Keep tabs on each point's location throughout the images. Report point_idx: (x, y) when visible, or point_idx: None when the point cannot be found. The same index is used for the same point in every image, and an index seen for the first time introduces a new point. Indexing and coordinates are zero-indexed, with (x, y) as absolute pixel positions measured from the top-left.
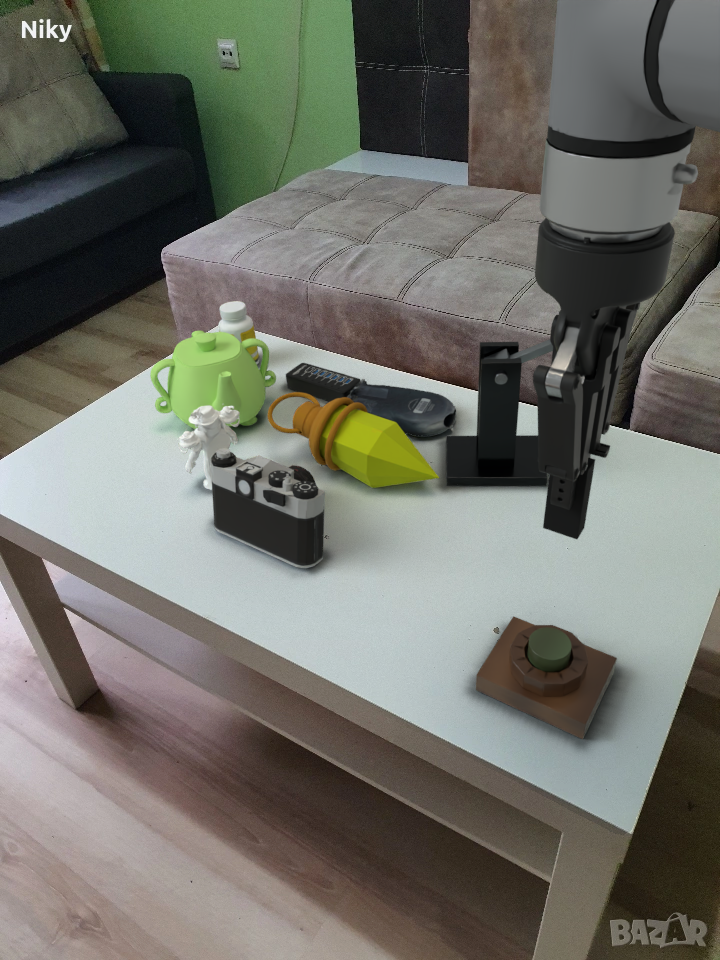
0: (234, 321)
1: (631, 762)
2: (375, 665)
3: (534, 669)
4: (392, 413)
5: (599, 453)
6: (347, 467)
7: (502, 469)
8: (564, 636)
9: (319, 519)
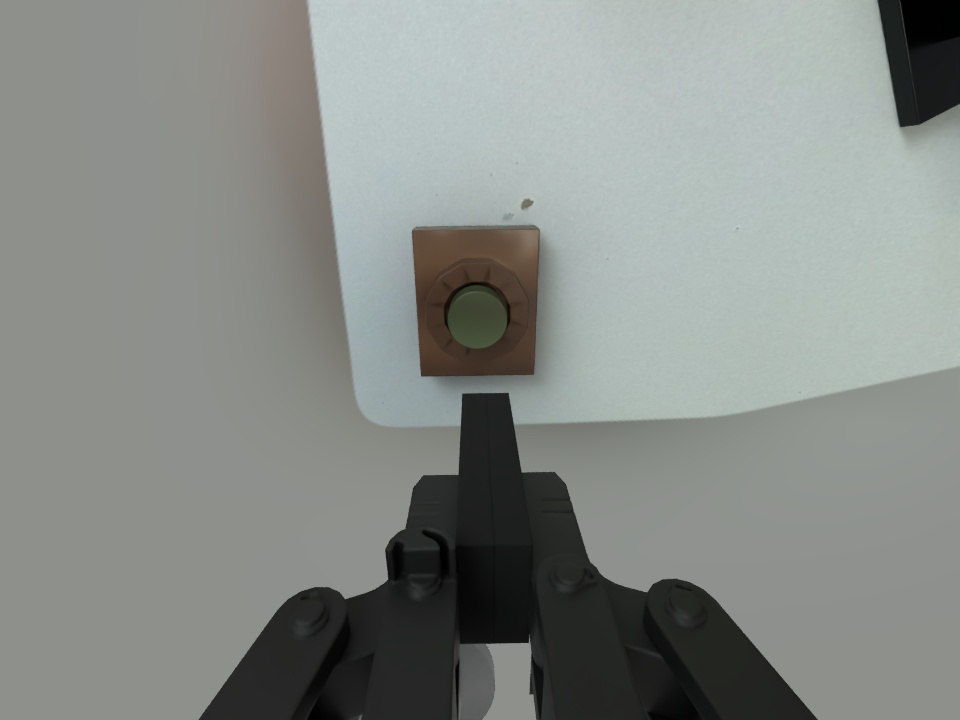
0: None
1: (427, 413)
2: (369, 63)
3: (440, 309)
4: None
5: (531, 679)
6: None
7: (934, 18)
8: (498, 333)
9: None
